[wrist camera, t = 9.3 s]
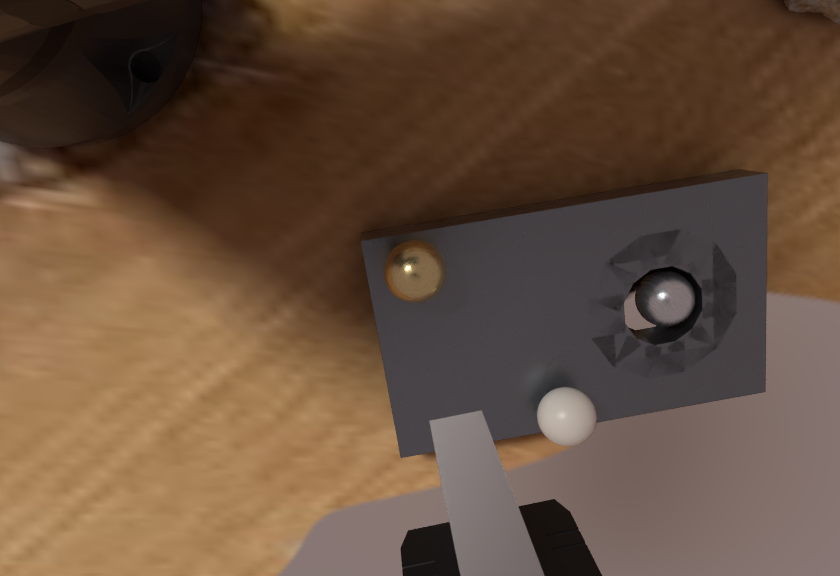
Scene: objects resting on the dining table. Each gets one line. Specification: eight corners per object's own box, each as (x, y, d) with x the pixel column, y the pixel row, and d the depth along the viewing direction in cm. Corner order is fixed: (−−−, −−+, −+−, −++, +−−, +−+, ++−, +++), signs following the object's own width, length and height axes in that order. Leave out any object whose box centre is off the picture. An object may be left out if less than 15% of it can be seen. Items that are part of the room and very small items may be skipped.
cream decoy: (527, 383, 34) (543, 408, 31) (582, 373, 34) (603, 398, 31) (533, 432, 35) (549, 462, 32) (586, 422, 35) (607, 451, 32)
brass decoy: (378, 240, 31) (378, 253, 28) (438, 230, 31) (445, 242, 28) (388, 298, 32) (390, 316, 29) (446, 288, 32) (454, 305, 29)
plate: (398, 436, 37) (400, 458, 35) (361, 232, 33) (360, 241, 31) (740, 374, 38) (765, 391, 35) (739, 169, 34) (767, 172, 32)
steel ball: (632, 291, 33) (675, 254, 33) (617, 298, 36) (657, 264, 36) (673, 335, 32) (717, 298, 33) (654, 339, 36) (694, 305, 36)
